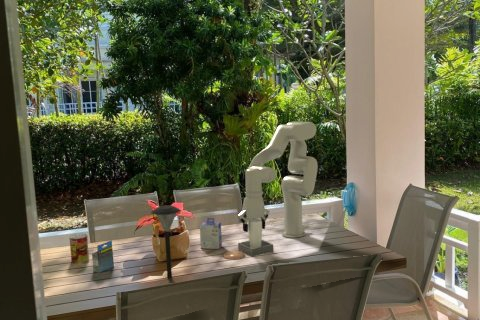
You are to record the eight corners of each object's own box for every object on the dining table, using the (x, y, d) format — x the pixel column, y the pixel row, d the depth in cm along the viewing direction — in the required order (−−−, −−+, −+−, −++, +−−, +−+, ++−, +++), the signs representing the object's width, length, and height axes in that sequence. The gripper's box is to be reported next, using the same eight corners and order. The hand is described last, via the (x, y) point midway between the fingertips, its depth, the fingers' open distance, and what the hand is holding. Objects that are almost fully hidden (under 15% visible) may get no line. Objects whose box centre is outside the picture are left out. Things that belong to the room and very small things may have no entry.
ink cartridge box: (222, 245, 237) (221, 217, 235) (219, 249, 232) (218, 220, 230) (203, 245, 239) (202, 217, 237) (200, 248, 234) (199, 220, 232)
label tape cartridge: (108, 265, 215) (106, 239, 213) (114, 266, 213) (112, 240, 211) (92, 271, 207) (90, 244, 206) (99, 273, 205) (97, 245, 204)
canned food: (69, 260, 223) (67, 236, 221) (85, 256, 228) (83, 232, 226) (74, 265, 217) (72, 239, 215) (91, 260, 222) (89, 236, 220)
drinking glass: (248, 249, 231) (247, 219, 229) (261, 248, 231) (260, 218, 229) (249, 253, 224) (248, 222, 222) (263, 252, 225) (262, 221, 223)
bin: (259, 245, 236) (259, 238, 235) (273, 251, 226) (273, 244, 225) (238, 250, 230) (238, 243, 229) (252, 256, 219) (251, 249, 219)
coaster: (237, 250, 228) (237, 249, 228) (249, 256, 220) (249, 255, 220) (219, 255, 223) (219, 253, 223) (230, 260, 215) (230, 259, 215)
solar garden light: (183, 282, 192) (180, 209, 188) (153, 284, 191) (148, 211, 187) (184, 271, 204) (181, 203, 200) (156, 273, 203) (152, 204, 199)
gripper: (264, 191, 232) (264, 225, 233) (233, 195, 223) (234, 231, 225) (273, 193, 225) (273, 229, 227) (242, 197, 216) (242, 234, 218)
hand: (254, 230), depth 226 cm, fingers open, 9 cm apart
